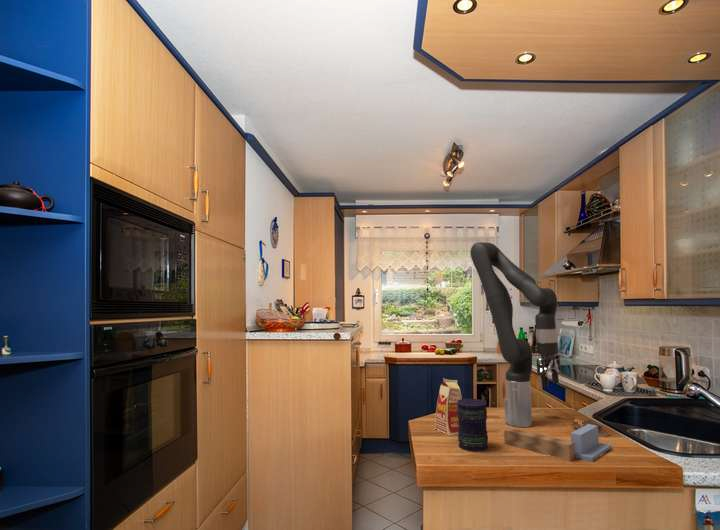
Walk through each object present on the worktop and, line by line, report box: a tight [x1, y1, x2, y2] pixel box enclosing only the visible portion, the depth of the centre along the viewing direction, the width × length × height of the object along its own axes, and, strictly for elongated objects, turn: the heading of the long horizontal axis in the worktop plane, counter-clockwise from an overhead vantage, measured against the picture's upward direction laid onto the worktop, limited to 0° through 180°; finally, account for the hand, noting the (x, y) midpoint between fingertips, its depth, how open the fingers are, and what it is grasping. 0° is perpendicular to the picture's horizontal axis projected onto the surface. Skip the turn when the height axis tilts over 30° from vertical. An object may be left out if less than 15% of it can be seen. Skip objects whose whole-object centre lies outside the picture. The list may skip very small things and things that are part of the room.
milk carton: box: [434, 377, 463, 436], centre depth 170 cm, size 9×9×20 cm
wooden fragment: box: [573, 419, 612, 438], centre depth 170 cm, size 26×11×1 cm, turn 168°
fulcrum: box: [570, 424, 612, 463], centre depth 145 cm, size 10×16×7 cm, turn 132°
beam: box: [503, 427, 575, 462], centre depth 147 cm, size 22×4×5 cm, turn 42°
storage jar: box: [457, 398, 489, 453], centre depth 152 cm, size 10×10×15 cm
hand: (550, 384), depth 166 cm, fingers open, 8 cm apart
